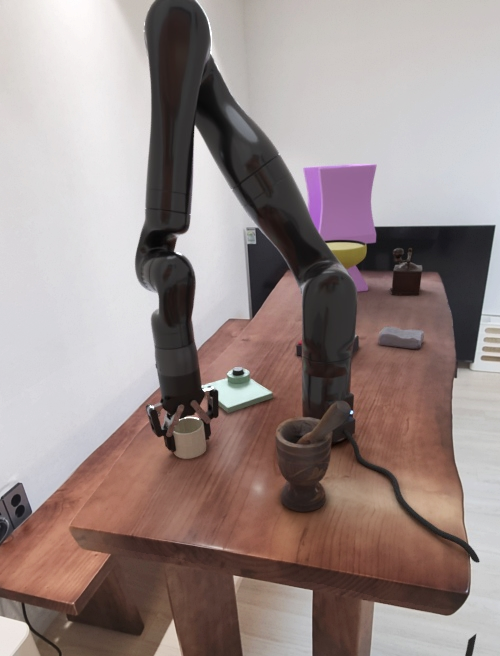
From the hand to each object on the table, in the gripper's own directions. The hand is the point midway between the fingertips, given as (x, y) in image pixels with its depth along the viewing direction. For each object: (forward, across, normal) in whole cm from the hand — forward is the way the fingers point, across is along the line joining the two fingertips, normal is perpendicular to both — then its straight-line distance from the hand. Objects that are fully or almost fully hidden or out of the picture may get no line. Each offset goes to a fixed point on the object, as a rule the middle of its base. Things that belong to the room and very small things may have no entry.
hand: (189, 443), depth 91 cm
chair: (+2, +101, +74) cm, 125 cm away
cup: (+1, 0, 0) cm, 1 cm away
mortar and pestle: (+1, +10, -26) cm, 28 cm away
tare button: (-1, +22, +19) cm, 30 cm away
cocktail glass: (+1, +70, +39) cm, 80 cm away
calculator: (+1, +53, +22) cm, 57 cm away
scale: (+1, +19, +15) cm, 24 cm away
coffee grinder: (+2, +113, +48) cm, 123 cm away
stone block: (+1, +74, +14) cm, 75 cm away
